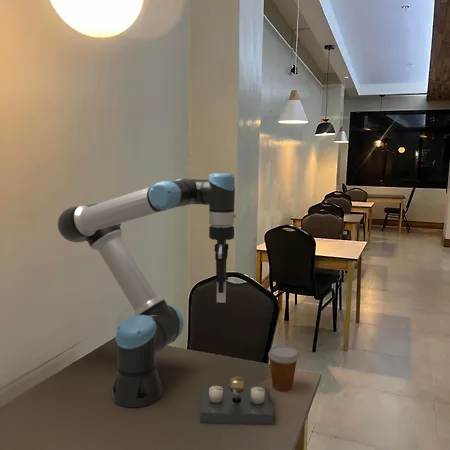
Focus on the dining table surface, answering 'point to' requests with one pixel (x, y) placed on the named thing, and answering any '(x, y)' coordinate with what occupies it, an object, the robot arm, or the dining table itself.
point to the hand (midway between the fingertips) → (221, 301)
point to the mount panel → (236, 408)
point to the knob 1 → (215, 394)
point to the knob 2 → (257, 395)
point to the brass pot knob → (236, 386)
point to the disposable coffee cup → (283, 367)
